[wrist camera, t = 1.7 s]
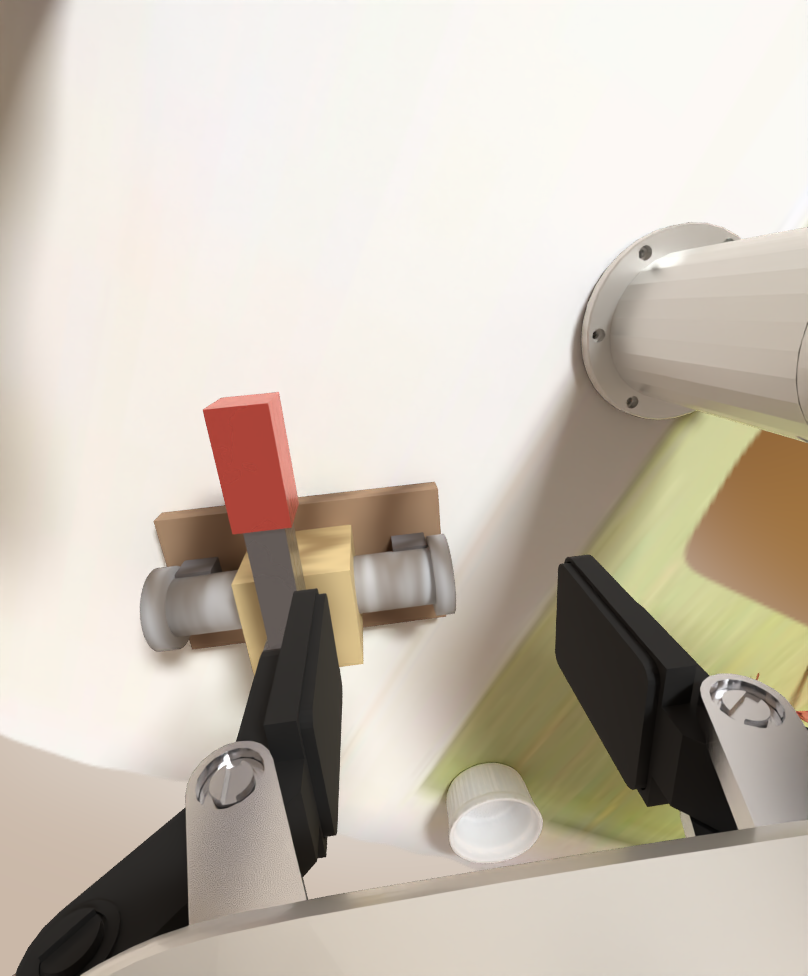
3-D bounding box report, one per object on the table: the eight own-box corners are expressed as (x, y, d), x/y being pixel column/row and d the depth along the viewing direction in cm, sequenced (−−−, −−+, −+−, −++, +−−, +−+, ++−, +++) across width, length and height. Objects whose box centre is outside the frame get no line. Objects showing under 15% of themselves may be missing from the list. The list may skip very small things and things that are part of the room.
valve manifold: (434, 481, 35) (458, 534, 27) (442, 605, 39) (466, 685, 31) (161, 512, 34) (98, 578, 26) (198, 637, 38) (153, 728, 30)
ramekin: (543, 769, 47) (561, 812, 43) (500, 827, 50) (512, 873, 46) (467, 746, 45) (478, 789, 41) (425, 808, 48) (432, 854, 44)
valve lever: (332, 656, 29) (330, 693, 26) (274, 664, 29) (265, 702, 26) (286, 391, 23) (277, 402, 21) (213, 398, 23) (193, 410, 20)
